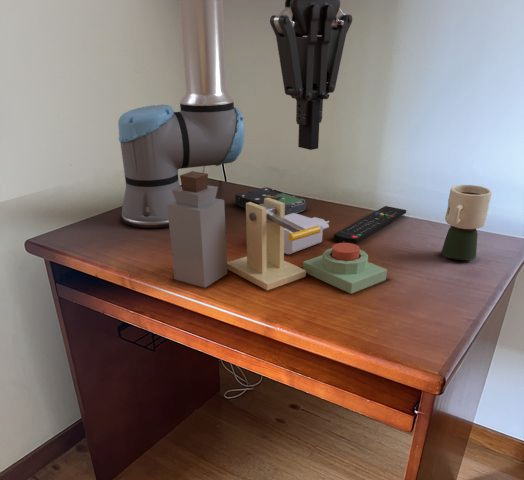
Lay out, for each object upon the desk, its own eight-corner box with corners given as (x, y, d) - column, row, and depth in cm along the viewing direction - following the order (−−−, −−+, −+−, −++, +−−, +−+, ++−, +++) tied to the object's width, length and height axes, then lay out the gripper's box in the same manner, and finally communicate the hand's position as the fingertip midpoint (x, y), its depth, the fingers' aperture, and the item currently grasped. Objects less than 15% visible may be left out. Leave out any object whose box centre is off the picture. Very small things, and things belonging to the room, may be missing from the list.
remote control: (405, 215, 126) (406, 210, 126) (354, 246, 110) (355, 240, 109) (384, 211, 129) (385, 205, 128) (332, 241, 113) (332, 234, 112)
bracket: (306, 276, 98) (308, 206, 91) (267, 290, 93) (266, 217, 86) (264, 256, 106) (263, 190, 99) (226, 268, 101) (223, 200, 94)
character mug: (451, 245, 110) (463, 180, 104) (486, 253, 107) (501, 186, 100) (428, 261, 103) (439, 193, 96) (464, 271, 99) (479, 200, 93)
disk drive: (234, 206, 134) (275, 219, 124) (234, 194, 132) (275, 207, 123) (266, 197, 140) (307, 210, 130) (266, 186, 138) (307, 198, 129)
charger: (341, 237, 115) (291, 256, 106) (309, 226, 120) (259, 243, 112) (343, 215, 112) (292, 232, 104) (310, 205, 118) (259, 221, 109)
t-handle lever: (319, 237, 89) (321, 223, 88) (292, 245, 86) (293, 231, 85) (273, 214, 97) (273, 200, 95) (246, 221, 94) (246, 207, 92)
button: (325, 256, 97) (326, 246, 96) (344, 249, 99) (345, 240, 98) (345, 264, 93) (346, 254, 92) (364, 257, 96) (365, 248, 95)
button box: (302, 271, 100) (303, 251, 98) (337, 259, 104) (338, 239, 102) (350, 294, 92) (352, 272, 90) (386, 279, 97) (388, 258, 94)
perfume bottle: (204, 287, 94) (197, 182, 85) (174, 279, 97) (164, 176, 88) (227, 274, 99) (223, 172, 90) (197, 266, 102) (190, 167, 93)
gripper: (296, -57, 62) (291, 158, 74) (373, -51, 69) (357, 145, 81) (255, -51, 67) (257, 149, 79) (331, -46, 74) (322, 138, 86)
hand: (308, 147), depth 80 cm, fingers closed
